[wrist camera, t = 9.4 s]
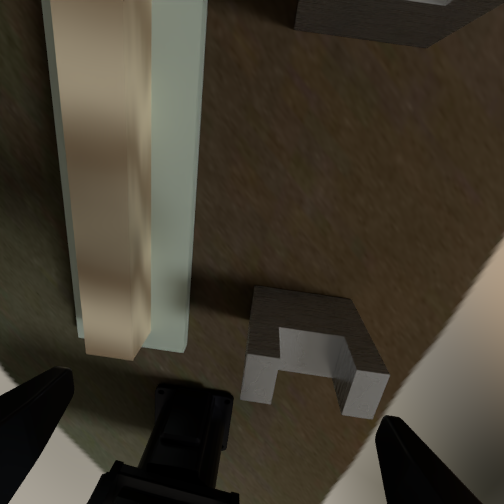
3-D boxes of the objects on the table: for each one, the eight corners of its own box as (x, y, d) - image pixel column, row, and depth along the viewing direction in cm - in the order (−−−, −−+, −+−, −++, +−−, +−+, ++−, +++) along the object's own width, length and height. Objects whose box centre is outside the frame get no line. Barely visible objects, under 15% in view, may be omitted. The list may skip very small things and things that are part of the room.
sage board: (186, 344, 23) (183, 352, 22) (86, 329, 23) (78, 337, 22) (216, -149, 13) (212, -173, 12) (37, -173, 13) (19, -199, 12)
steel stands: (341, 334, 21) (372, 419, 15) (249, 320, 21) (240, 399, 15) (449, -27, 14) (611, -178, 7) (305, -47, 14) (336, -214, 7)
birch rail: (150, 331, 21) (132, 360, 18) (110, 325, 21) (86, 353, 18) (151, -130, 12) (117, -209, 9) (82, -139, 12) (27, -221, 10)
